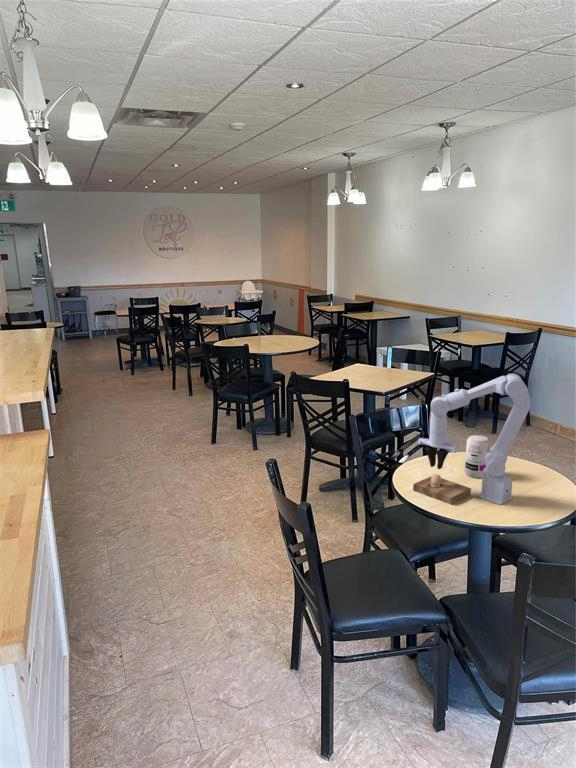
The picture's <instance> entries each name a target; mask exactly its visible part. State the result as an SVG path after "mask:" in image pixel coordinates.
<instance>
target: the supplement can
mask: <svg viewBox="0 0 576 768" xmlns="http://www.w3.org/2000/svg"><path fill="white" fill-rule="evenodd" d="M465 444H466V446H465V461H464V462H465V463H464V474H465V475H466V476H468V477H470V478H475V479H482V478H483V470H484V469H485V467H486V465H485V462H484V456H485V455H486V453H488V452H489V451H490V441H489V438H488V437H487V436H484V435H479V434H472V435H469V436H468V438H467V439H466V443H465Z"/></svg>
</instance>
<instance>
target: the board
mask: <svg viewBox="0 0 576 768" xmlns="http://www.w3.org/2000/svg"><path fill="white" fill-rule="evenodd" d="M431 476H432V475H431ZM431 476H428V477H426V478H423V479H422V480H420V481H417V482H414V483H413V485H412V489H413V490H412V491H414V492H416V491H417V493H420V494H422V495H425V496H427V497H430V498H432V499H435V500H437V501H440V502H443V503H445V504H448V505H453V504H455V503H457V502H459V501H461V500H463V499H465V498H467V497H469V496H471V492H472V487H468V486H466V485H463V484H460V483H457V482H453V481H450V480H448V479H445V478H442V477H441V480H440V488H434V487H431Z"/></svg>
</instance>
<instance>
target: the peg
mask: <svg viewBox="0 0 576 768" xmlns="http://www.w3.org/2000/svg"><path fill="white" fill-rule="evenodd" d="M441 478H442V477H441V475H439V474H438V473H437V474H434V473H433V474H431V487H434V488H440V480H441Z"/></svg>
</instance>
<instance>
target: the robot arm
mask: <svg viewBox="0 0 576 768" xmlns="http://www.w3.org/2000/svg"><path fill="white" fill-rule="evenodd" d="M504 392H505V393H506V394H507V396H509V398H510V399H511V400H512V402H513V406H512V408H511V410H510V412H509V414H508V416H507V419H506V421H505V423H504V425H503V427H502V429H501V431H500V433H499V435H498V438H497V439H496V441H495V444H494V445H493V446H491V448H490V449H489V452H488V453H486V455H485V456H484V462H485V465H486V467H485V469H484V470H483V478H481V479H482V481H481V492H478V493H477V494H476V495H475V496H476V497H477V498H480V499H483V500H486V501H488V502H492V503H495V504H498V505H504V504H505V503H506V502H508V501H510V500H511V499H513V497H512V492H513V480H512V478H511V477H510V476H508V475H506V463H507V460H508V456H509V452H510V450H511V448H512V446H513V443H514V441H515V439H516V438H517V435H518V433H519V431H520V429H521V427H522V425H523V423H524V421H525V420H526V417H527V415H528V413H529V411H530V409H531V406H532V404H531V400H530V399H531V398H530V393H529V388H528V386H527V385H526V384H525V382H524V381H523V379H522V377H521V376H520V375H519V374H517V373H508V374H507V375H501V376H499V377H496V378H494V379H491V380H490V381H487V382H484V383H482V384H480V385H478V386H475V387H472V388H470V389H468V390H466V389H464V388H461V389H459V388H456V389H454V391H453V392H450V393H449V392H448V393H446V394H441V396H436V397H433V398H432V400H431V402H430V418H429V437H428V438H424V437H420V438H418V440H417V441H418V442H417V443H418V445H423V446H426V447H425V448H424V451H425V453H426V455H427V457H428V461H429V465H430V468H433V467H435V466H436V465H437V466H436V467H437V470H440V469H443V466H444V463H445V461H446V458H447V456H448V454H449V453H452V454H456V453H458V446H456V445H453V444H451V443H449V442H447V429H448V425H447V424H448V419H447V413H448V412H450V411H454V410H456V409H459V408H462V407H465V406H467V405H469V404H470V403H471V400H473V399H476V398H479V397H482V396H486V395H489V394H491V393H497V394H500V395H504ZM438 449H439V450H438ZM436 462H437V464H436Z"/></svg>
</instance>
